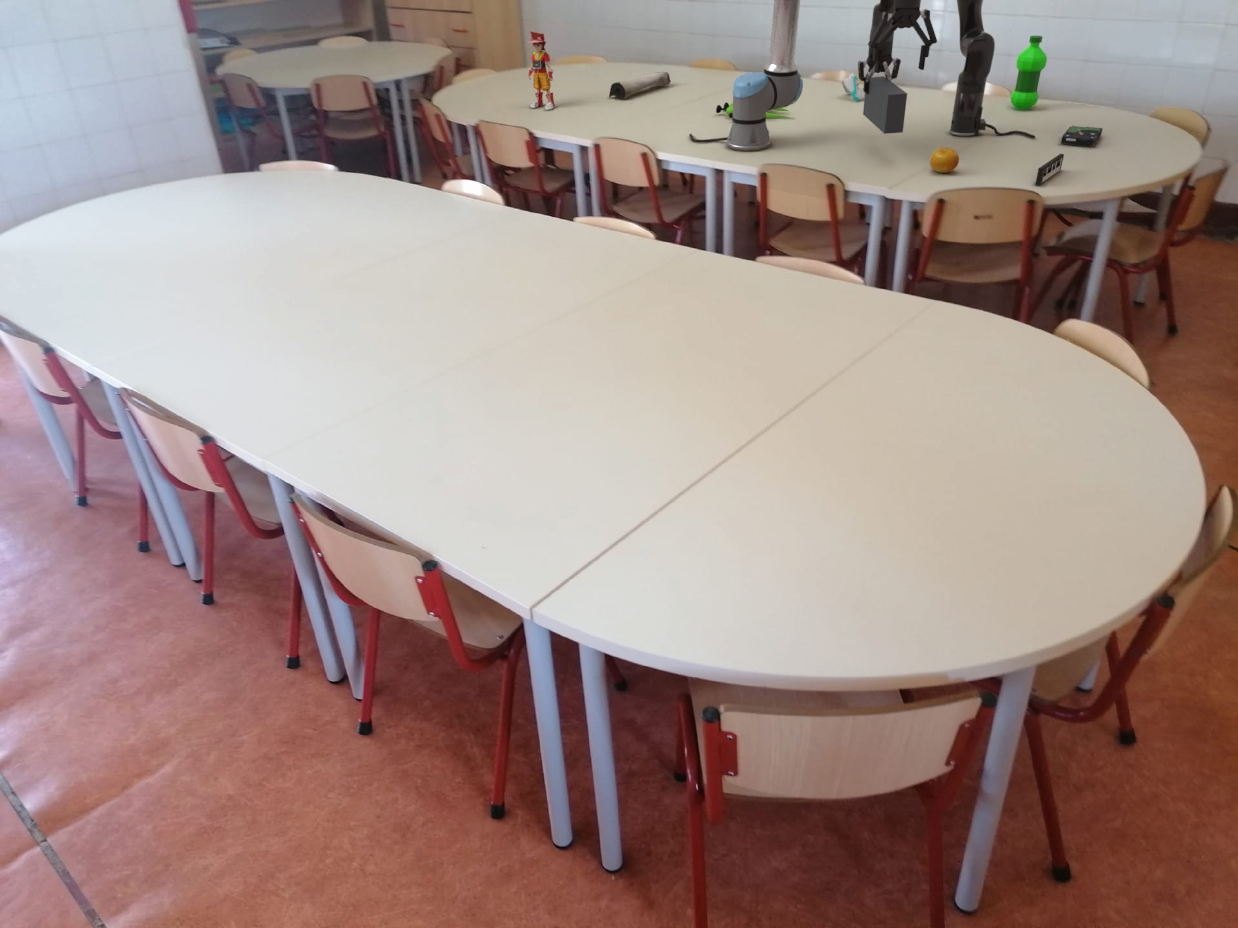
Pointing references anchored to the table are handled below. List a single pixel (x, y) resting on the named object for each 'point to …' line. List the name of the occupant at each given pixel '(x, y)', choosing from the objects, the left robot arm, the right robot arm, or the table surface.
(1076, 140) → the disk drive
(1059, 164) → the midi keyboard
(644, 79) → the rolled mat
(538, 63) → the toy
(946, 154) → the fruit
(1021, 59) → the plastic bottle
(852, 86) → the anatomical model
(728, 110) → the toy
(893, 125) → the box
